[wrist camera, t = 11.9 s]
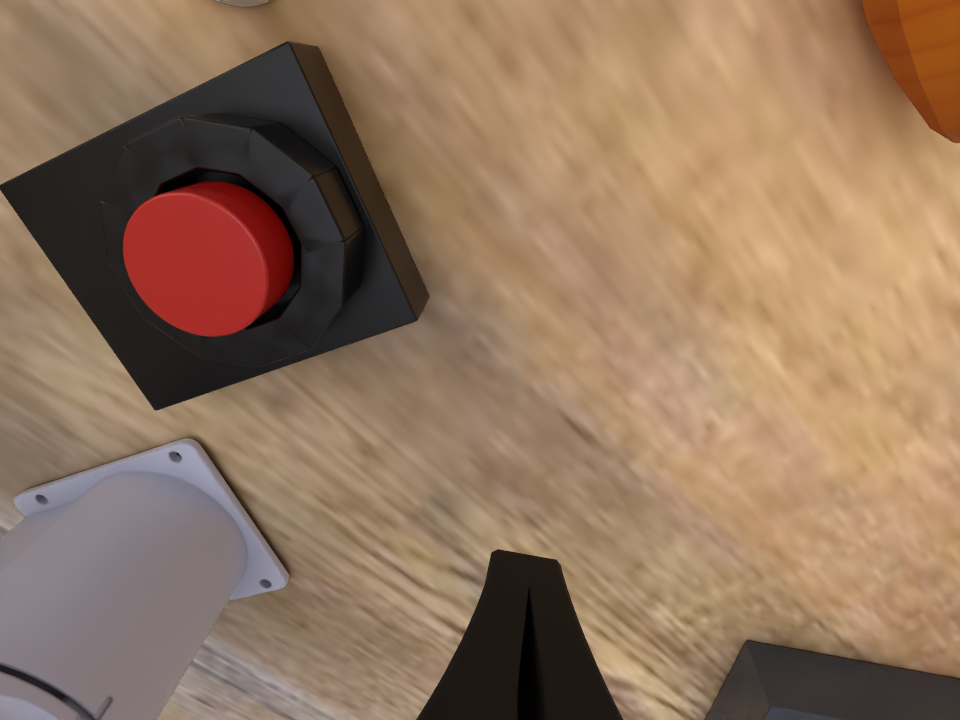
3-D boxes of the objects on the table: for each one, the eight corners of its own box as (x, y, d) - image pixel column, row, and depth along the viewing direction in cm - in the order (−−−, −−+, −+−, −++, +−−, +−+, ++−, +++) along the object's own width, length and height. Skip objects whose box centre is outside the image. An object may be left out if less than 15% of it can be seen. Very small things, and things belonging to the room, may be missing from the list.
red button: (210, 329, 16) (176, 355, 15) (137, 210, 15) (91, 224, 14) (319, 289, 16) (295, 311, 14) (251, 158, 14) (216, 168, 13)
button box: (189, 382, 22) (120, 441, 18) (53, 175, 19) (-62, 197, 15) (430, 296, 19) (405, 345, 16) (318, 45, 16) (256, 33, 13)
